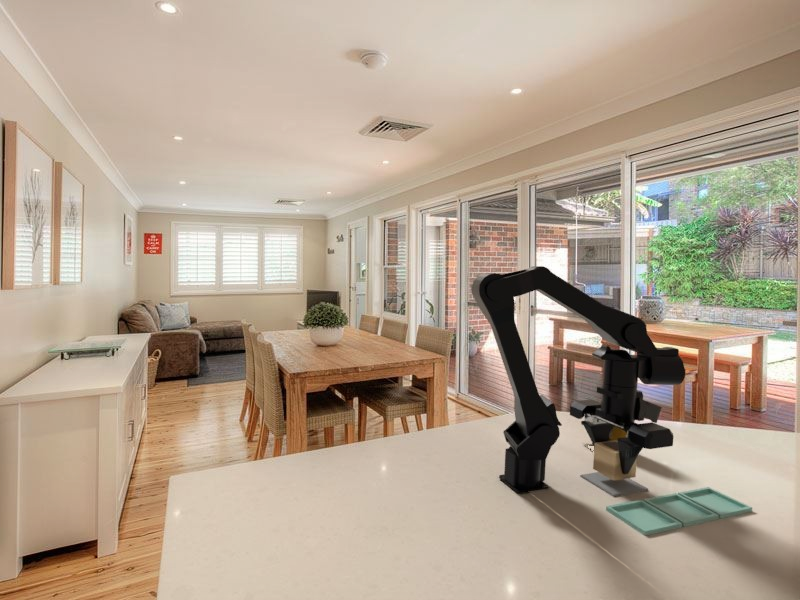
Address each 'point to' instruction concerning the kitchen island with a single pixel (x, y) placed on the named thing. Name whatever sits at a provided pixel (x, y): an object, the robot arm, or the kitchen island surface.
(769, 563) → the kitchen island surface
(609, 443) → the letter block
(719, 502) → the dish far
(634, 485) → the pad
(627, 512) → the dish near
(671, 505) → the dish middle
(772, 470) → the kitchen island surface
